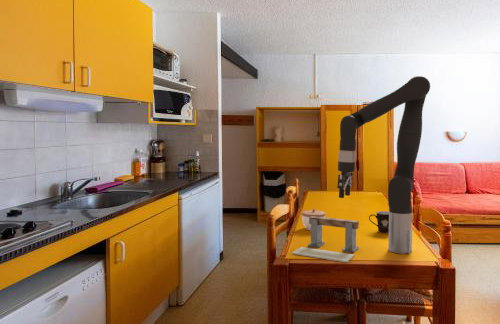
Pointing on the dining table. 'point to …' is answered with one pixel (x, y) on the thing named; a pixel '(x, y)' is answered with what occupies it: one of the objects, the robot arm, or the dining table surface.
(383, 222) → the coffee mug
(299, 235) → the dining table surface
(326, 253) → the white flat slab
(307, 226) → the lidded bowl
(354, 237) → the forked posts
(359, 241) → the dining table surface
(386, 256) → the dining table surface
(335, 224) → the walnut bar
